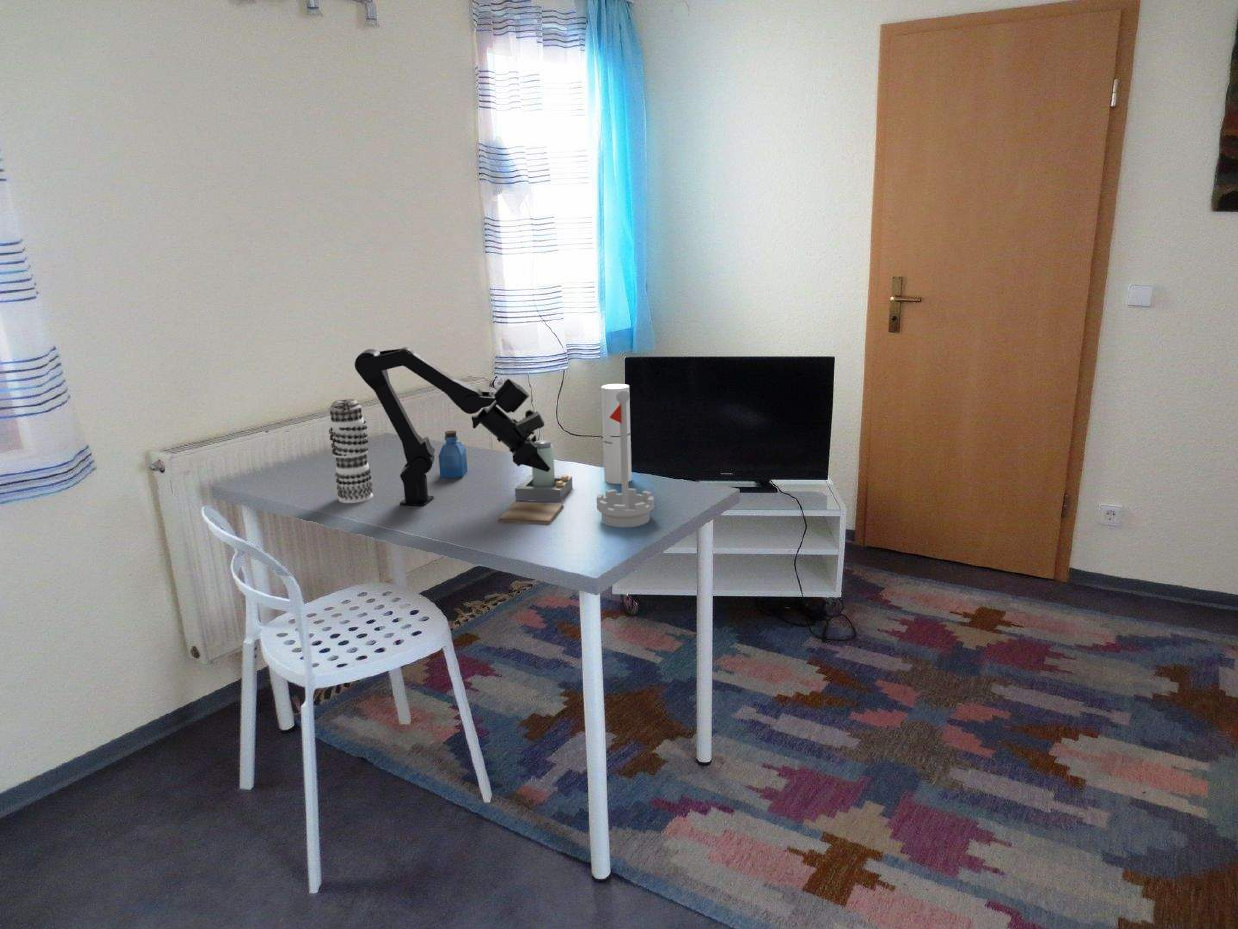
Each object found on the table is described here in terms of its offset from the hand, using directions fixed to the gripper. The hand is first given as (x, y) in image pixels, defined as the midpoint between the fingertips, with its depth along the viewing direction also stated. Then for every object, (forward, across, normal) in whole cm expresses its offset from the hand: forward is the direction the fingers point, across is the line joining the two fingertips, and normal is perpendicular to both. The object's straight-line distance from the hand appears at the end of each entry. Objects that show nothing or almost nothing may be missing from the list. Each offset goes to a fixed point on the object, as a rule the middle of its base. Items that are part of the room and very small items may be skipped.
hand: (548, 467), depth 213 cm
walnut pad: (+2, -15, +8) cm, 17 cm away
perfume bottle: (-13, +23, +23) cm, 35 cm away
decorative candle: (-29, +6, +40) cm, 50 cm away
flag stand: (+17, -23, -7) cm, 29 cm away
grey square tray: (+4, 0, +6) cm, 7 cm away
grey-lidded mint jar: (+4, 0, +6) cm, 7 cm away
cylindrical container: (+18, +8, -8) cm, 21 cm away
